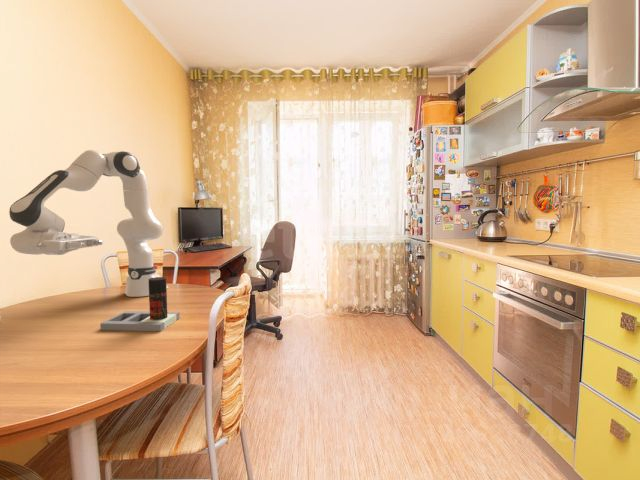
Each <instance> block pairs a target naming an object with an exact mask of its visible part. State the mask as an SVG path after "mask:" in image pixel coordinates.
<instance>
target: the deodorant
mask: <svg viewBox="0 0 640 480" xmlns="http://www.w3.org/2000/svg"><path fill="white" fill-rule="evenodd" d="M167 286H168V285H167V277H165V276H161V277H155V278H150V279H149V296H148V300H149V301H148V302H149V304H148V305H149V312H150V320H162V319H165V318H167V312H168V294H167V291H168V288H167Z"/></svg>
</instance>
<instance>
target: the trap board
mask: <svg viewBox="0 0 640 480" xmlns="http://www.w3.org/2000/svg"><path fill="white" fill-rule="evenodd" d="M177 319H178V320H179V319H180V312H178V311H167V318H165V319H162V320H150V311H137V310H134V311H131V310H125V311H123V312H120V313H118V314H117V315H115V316H112V317H110V318H108V319H106V320H104V321H102V322H100V323H99V325H100V327H99V328H100V331H120V332H121V331H122V332H123V331H125V332H126V331H127V332H130V331H131V332H163V329H164V330H165V329H167V328H168V327H169V326H171V325H172V324H173V322H174V321H175V322H177V321H178V320H177ZM176 320H177V321H176ZM175 322H174V323H175ZM170 324H171V325H170ZM167 326H168V327H167Z"/></svg>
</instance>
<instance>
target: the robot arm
mask: <svg viewBox="0 0 640 480" xmlns="http://www.w3.org/2000/svg"><path fill="white" fill-rule="evenodd" d="M102 176H105V177H119V178H120V180H121V182H122V192H123V201H124V207H125V209H126V210H128V212H129V213H130V215H131V218H126V219H122V220H121V221H119V222H118V224H117V226H116V232H117V234H118V235H119V236H120V237H121V238H122V240H123V241H124V245H125V246H126V247H125V248H126V250H127V258H128V267H127V274H128V276H127V277H126V283H125V284H126V285H125V291H123V294H125V296H127V297H129V298H130V297H132V298H136V297H137V298H139V297H149V279H150V278H155V277H162V276H161V275H159V274H158V273H157V271H156V270H158V269H159V265H154V251H153V249H152V248H151V247H150V246H149V245H148V242H147V241H153V240H158V239H159V238H161V236H162V235H163V232H164V227H163V225H162V223H161V222H160V221H159V220H158V219H157V218H156V216H155V213H154V212H153V210H152V207H151V200H150V194H149V193H150V191H149V184H148V180H147V176H146V174H145V172H144V171H143V170H142V169H141V167H140V163H139V161H138V158H137V157H136V156H135V155H134V154H133V153H131V152H128V151H123V150H121V151H111V152H108V153H100V152H99V151H97V150H93V149H92V150H91V149H89V150H85V151H84V152H82V153H81V154H80V155H79V156H77V158H75V159H74V161H73V162H72V163H70V165H69V166H68V167H67V168H66V169H63V170H62V169H60V170H56V171H54V172H52V173H51V174H49V175H48V176H47V177H45V179H43V180H42V181H41V182H39V184H37V185H36V186H35V187H34V188H33V189H32V190H30V191H29V192H28V193H26V194H25V195H24V196H22V197H21V198H19V199H17V200H16V201H15V202H13V203H12V204H11V205H10V207H9V211H8V213H9V217H10V220H11V221H12V222H14V223H16V224H19V225H20V226H23V227H24V228H25V229H24V230H22V231H20V232H17V233H14V234H13V235H11V237H10V240H9V243H10V245H11V247H12V249H13V250H14V251H16V252H17V253H20V254H24V255H34V256H35V255H48V256H49V255H52V256H63V255H65V254H68V253H70V252H72V251H77V250H79V249H84V248H91V247H98V246H102V245H103V242H104V241H103V240H99V238H98V237H97V236H93V235H92V236H90V235H79V233H68V232H64V229H65V225H66V223H65V220H64V218H62V217H61V216H59V215H58V214H56V213H55V212H53V211H52V210H50V209H48V208H47V207H46V206H45V203H46V201H47V200H48V199H50V198H51V197H52V196H53V195H54V194H55V193H56V192H57V191H59V190H60V189H63V188H65V189H69V190H72V191H76V192H86V191H87V192H88V191H90V190H92V189H93V188H94V187H95V186H96V185H97V183H98V181H100V179H101V178H102ZM166 286H167V289H168V288H169V285H166Z"/></svg>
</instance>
